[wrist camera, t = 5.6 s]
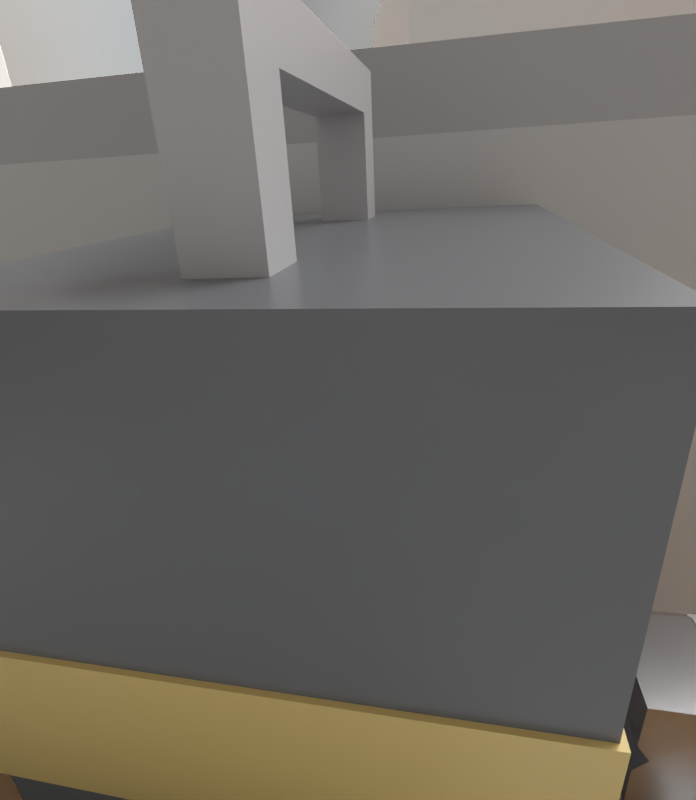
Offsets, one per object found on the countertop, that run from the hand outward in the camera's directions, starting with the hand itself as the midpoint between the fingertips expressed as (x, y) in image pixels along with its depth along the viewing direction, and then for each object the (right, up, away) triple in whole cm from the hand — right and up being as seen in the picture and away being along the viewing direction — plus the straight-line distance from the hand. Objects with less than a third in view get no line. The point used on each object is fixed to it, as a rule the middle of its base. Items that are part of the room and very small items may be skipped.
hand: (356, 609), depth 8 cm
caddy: (0, -7, +2) cm, 7 cm away
